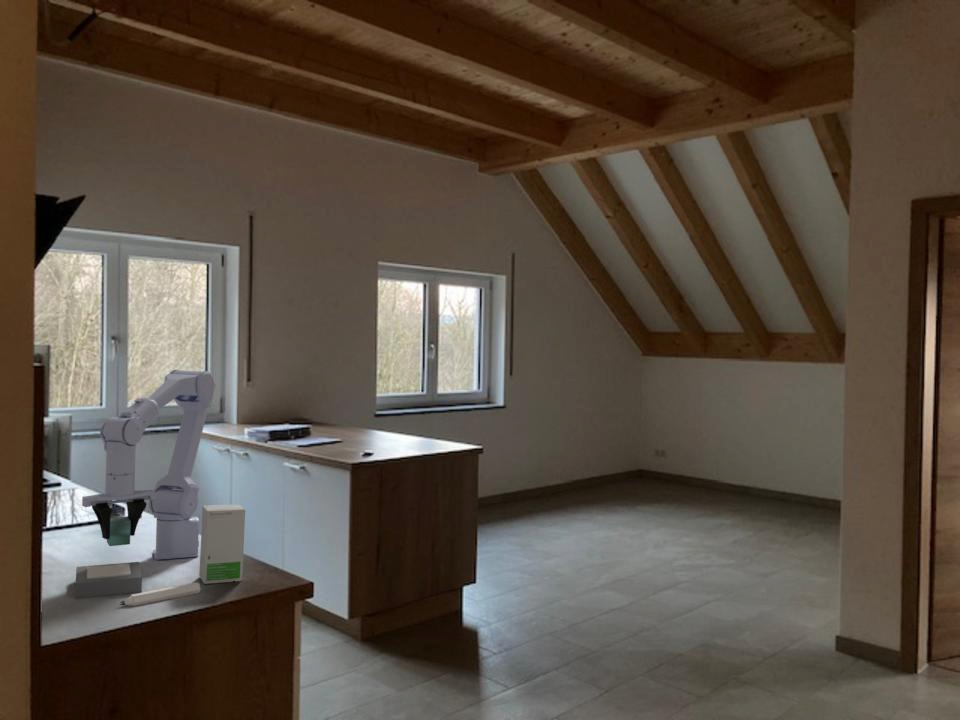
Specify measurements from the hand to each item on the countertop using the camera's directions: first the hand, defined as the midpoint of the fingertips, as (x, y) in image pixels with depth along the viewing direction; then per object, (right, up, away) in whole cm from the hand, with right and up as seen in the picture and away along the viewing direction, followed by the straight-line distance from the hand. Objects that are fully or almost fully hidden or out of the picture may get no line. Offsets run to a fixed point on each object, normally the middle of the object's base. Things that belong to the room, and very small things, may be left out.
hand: (118, 536), depth 171 cm
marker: (+14, -10, -14) cm, 22 cm away
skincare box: (+22, -9, +1) cm, 24 cm away
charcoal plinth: (+1, -9, -7) cm, 11 cm away
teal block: (0, -1, 0) cm, 1 cm away
